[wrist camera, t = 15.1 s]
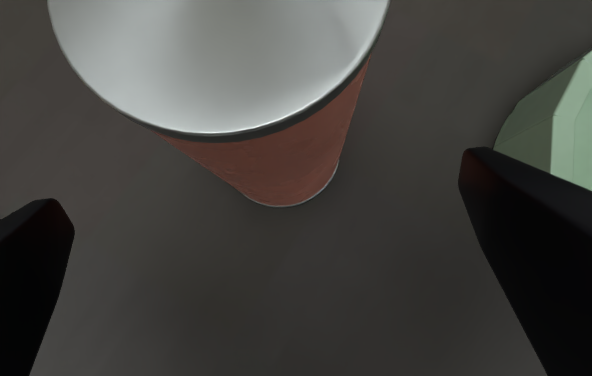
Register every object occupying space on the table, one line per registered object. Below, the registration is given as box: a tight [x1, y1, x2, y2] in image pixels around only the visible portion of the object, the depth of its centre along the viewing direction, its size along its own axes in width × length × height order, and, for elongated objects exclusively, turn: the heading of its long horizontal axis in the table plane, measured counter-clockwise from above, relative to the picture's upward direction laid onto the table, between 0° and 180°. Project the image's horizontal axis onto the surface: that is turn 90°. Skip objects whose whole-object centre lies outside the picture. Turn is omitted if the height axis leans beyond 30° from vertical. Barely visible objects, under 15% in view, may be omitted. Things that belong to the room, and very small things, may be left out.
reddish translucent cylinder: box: [47, 0, 391, 208], centre depth 13 cm, size 6×6×13 cm
